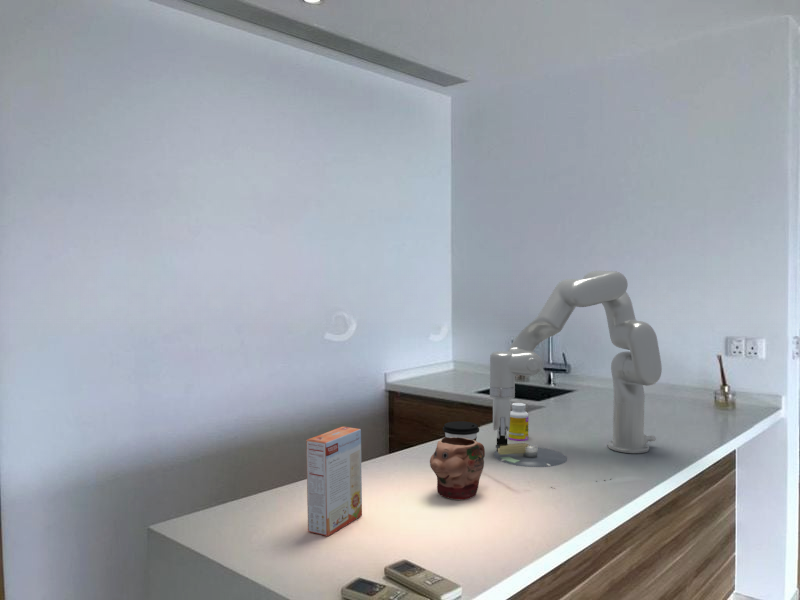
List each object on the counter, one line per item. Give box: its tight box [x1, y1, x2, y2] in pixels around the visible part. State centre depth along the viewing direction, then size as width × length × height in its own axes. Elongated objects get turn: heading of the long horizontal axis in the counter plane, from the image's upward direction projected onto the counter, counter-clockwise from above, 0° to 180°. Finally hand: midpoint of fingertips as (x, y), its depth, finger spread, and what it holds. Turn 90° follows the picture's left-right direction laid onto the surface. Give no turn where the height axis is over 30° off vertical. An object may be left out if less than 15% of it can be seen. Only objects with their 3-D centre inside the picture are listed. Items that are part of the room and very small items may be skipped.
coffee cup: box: [442, 420, 480, 441], centre depth 194 cm, size 11×11×12 cm
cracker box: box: [305, 426, 363, 537], centre depth 148 cm, size 14×6×21 cm, turn 150°
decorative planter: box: [429, 436, 486, 501], centre depth 169 cm, size 20×12×14 cm, turn 141°
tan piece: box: [495, 442, 539, 457], centre depth 198 cm, size 13×4×4 cm, turn 101°
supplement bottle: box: [507, 402, 529, 442], centre depth 220 cm, size 7×7×13 cm
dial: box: [493, 447, 568, 468], centre depth 199 cm, size 22×22×1 cm
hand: (502, 451), depth 200 cm, fingers closed
